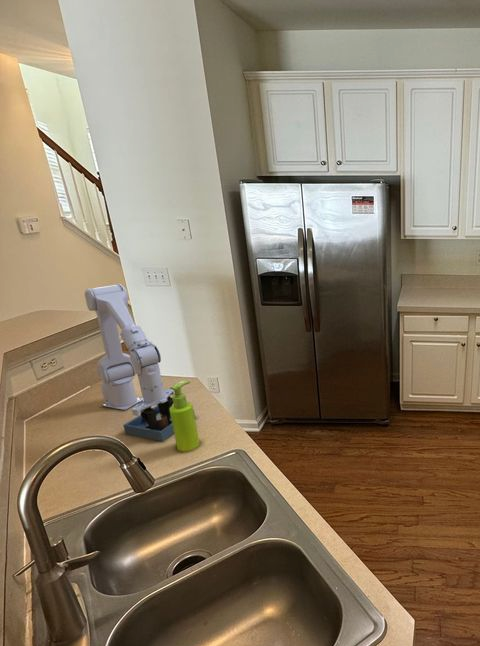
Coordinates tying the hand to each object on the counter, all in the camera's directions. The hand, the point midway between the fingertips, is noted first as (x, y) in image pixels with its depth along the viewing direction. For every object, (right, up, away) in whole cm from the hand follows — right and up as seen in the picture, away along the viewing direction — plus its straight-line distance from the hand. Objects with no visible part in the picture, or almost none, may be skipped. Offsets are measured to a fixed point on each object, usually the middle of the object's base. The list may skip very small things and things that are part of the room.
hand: (160, 424), depth 132 cm
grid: (-2, -1, +5) cm, 6 cm away
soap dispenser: (+11, -6, -4) cm, 13 cm away
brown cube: (0, -1, +1) cm, 1 cm away
